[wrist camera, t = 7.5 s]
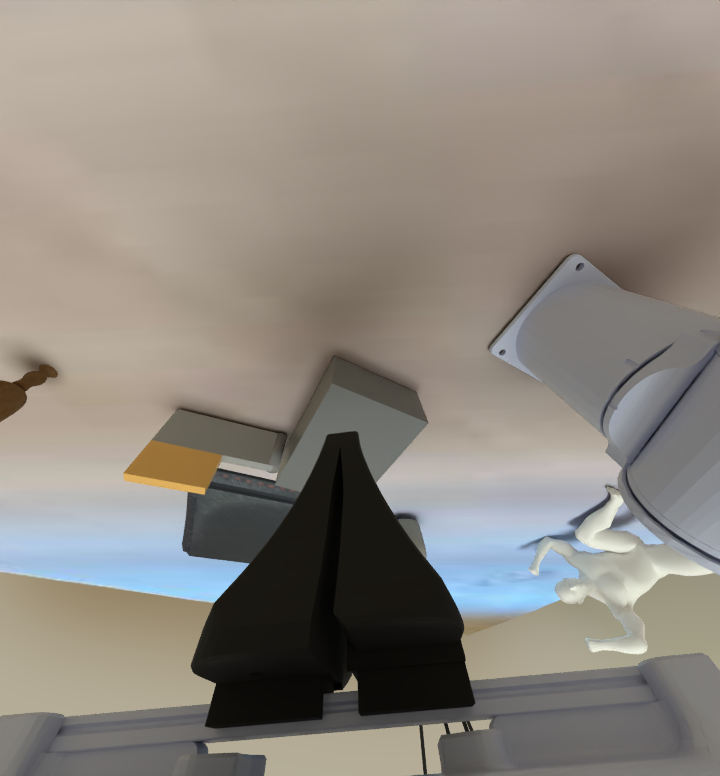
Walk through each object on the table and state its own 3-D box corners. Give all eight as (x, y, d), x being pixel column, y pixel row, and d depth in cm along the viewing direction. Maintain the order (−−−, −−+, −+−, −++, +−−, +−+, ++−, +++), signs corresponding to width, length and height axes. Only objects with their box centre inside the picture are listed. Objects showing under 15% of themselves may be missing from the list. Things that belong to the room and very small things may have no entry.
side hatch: (177, 407, 23) (123, 471, 17) (288, 434, 25) (271, 498, 19) (177, 416, 23) (124, 481, 18) (285, 442, 26) (268, 507, 20)
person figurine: (745, 577, 23) (608, 677, 29) (780, 560, 28) (657, 647, 34) (589, 469, 34) (514, 559, 40) (635, 471, 39) (562, 550, 45)
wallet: (185, 471, 26) (330, 503, 30) (194, 456, 27) (331, 488, 32) (172, 560, 36) (283, 575, 40) (180, 546, 37) (285, 561, 41)
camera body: (416, 392, 23) (430, 427, 19) (350, 476, 29) (351, 515, 26) (334, 355, 21) (331, 387, 17) (281, 455, 27) (270, 495, 23)
